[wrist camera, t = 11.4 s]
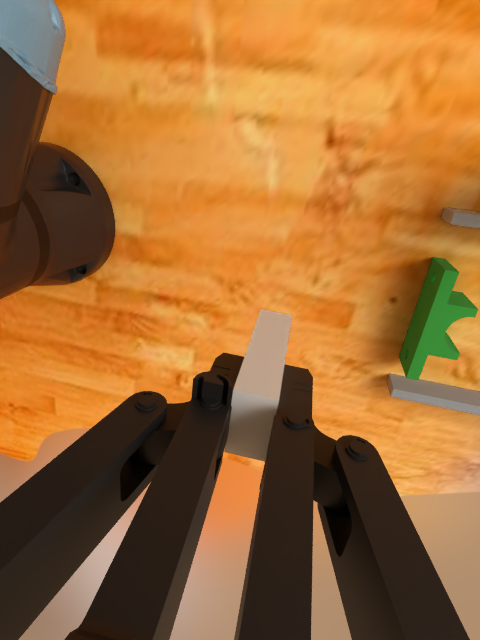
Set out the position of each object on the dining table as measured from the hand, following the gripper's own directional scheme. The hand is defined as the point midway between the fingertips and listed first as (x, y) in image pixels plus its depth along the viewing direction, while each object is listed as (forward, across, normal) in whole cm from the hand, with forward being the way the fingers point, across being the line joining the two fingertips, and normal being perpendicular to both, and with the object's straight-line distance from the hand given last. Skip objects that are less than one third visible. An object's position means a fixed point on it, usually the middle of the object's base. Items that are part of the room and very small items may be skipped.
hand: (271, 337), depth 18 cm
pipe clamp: (+22, +15, -5) cm, 27 cm away
